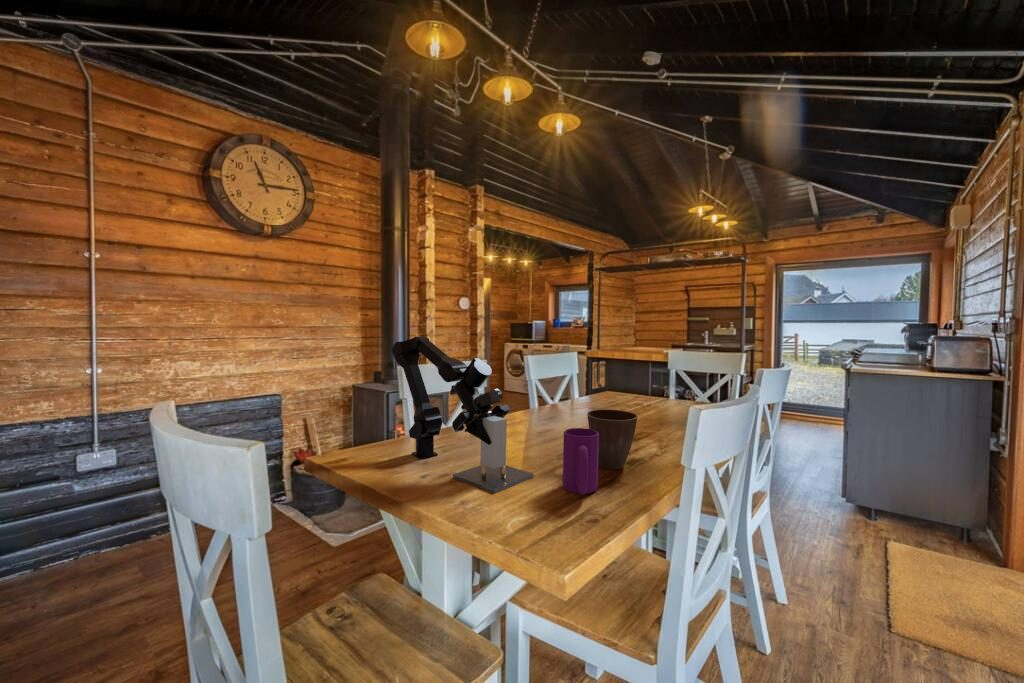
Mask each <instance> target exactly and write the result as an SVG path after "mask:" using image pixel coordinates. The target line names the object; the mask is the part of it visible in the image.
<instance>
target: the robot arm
mask: <svg viewBox="0 0 1024 683" xmlns="http://www.w3.org/2000/svg"><path fill="white" fill-rule="evenodd" d="M391 353H392V356H393V357H394V360H395V362H396V364H397V365H399V366H400V367H401V368H402V369H403V372H404V375H405V378H406V381H407V385H408V387H409V388H408V389H409V392H410V394H411V397H412V402H413V404H414V408H415V411H414V415H413V424H412V426H411V427H410V429H409V430H408V434H409V438H411V439H414V440H415V451H412V452H411V455H413V456H414V457H416V458H418V459H425V458H431V457H435V456H436V457H437V456H438V455H439V454H438V453H437V452H435V450H434V449H435V448H434V447H435V446H434V445H435V443H434V439H435V438H434V437H435V436H439V435H440V433H441V429H442V425H443V420H442V419H443V416H442V415H441V414H442V413H441V410H440V408H439V407H438V406H433V405H432V403H431V400H430V397H429V395H428V392H427V389H426V386H425V383H424V382H425V381H424V379H423V376H422V373H421V369H420V366H419V362H420V361H419V360H420V357H421V355H422V356H423V357H424V358H425V359H427V360H428V361H430V363H432V364H433V365H434V366H435V367H436V368H437V373H438V375H439V376H440V377H441V379H443V381H445V382H446V383H452V382H456V383H455V384H453V385H451V388H450V392H449V395H457V397H458V399H459V400H460V403H461V404H462V405H461V406H460V409H461V410H465V411H461V412H459V413H458V415H457V416H456V417H455V419H454V420H453V421H452V422H451V423H452V428H453V430H454V432H455V433H457V432H462V431H463V430H464V432H465V433H468V434H470V435H472V436H473V437H475V438H477V439H479V440H480V441H481V440H482V441H484V442H485V443H487V444H488V445H490V444H491V443H492V442H491V440H490V437H489V436H488V434H487V432H486V430H485V428H484V426H483V421H482V418H486V417H491V416H496V417H501V418H505V417H506V416H507V415H508V414H509V413H510V411H511V408H510V407H509V405H508V404H505V403H501V404H497V403H500V402H501V400H502V399H503V393H502V391H501V390H500V389H499V388H494V389H492V390H490V391H486V392H485V393H484V392H483V393H481V392H479V391H478V390H477V388H481V387H482V386H483V384H484V383H485V382H486V380H488V378H489V377H490V375H492V372H493V371H492V368H491V366H490V365H489V364H487V362H485V361H482V360H481V359H480V357H474V358H472V359H471V361H470V363H469V365H467V364H466V363H464V361H461V360H459V359H458V358H453V357H451V356H449V355H448V354H446V353H445V352H444V351H443V350H441V349H440V348H439V347H438V346H436V344H434V343H433V342H432V341H431V340H430V338H429V337H427V336H414V337H411V338H410V339H406V340H403V341H396V342H395V343H394V344H393V346H392V347H391ZM420 354H421V355H420ZM494 404H497V405H495V406H494V407H493V405H494ZM492 408H493V409H492ZM491 409H492V410H491ZM490 410H491V411H490ZM465 427H466V428H465Z"/></svg>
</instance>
